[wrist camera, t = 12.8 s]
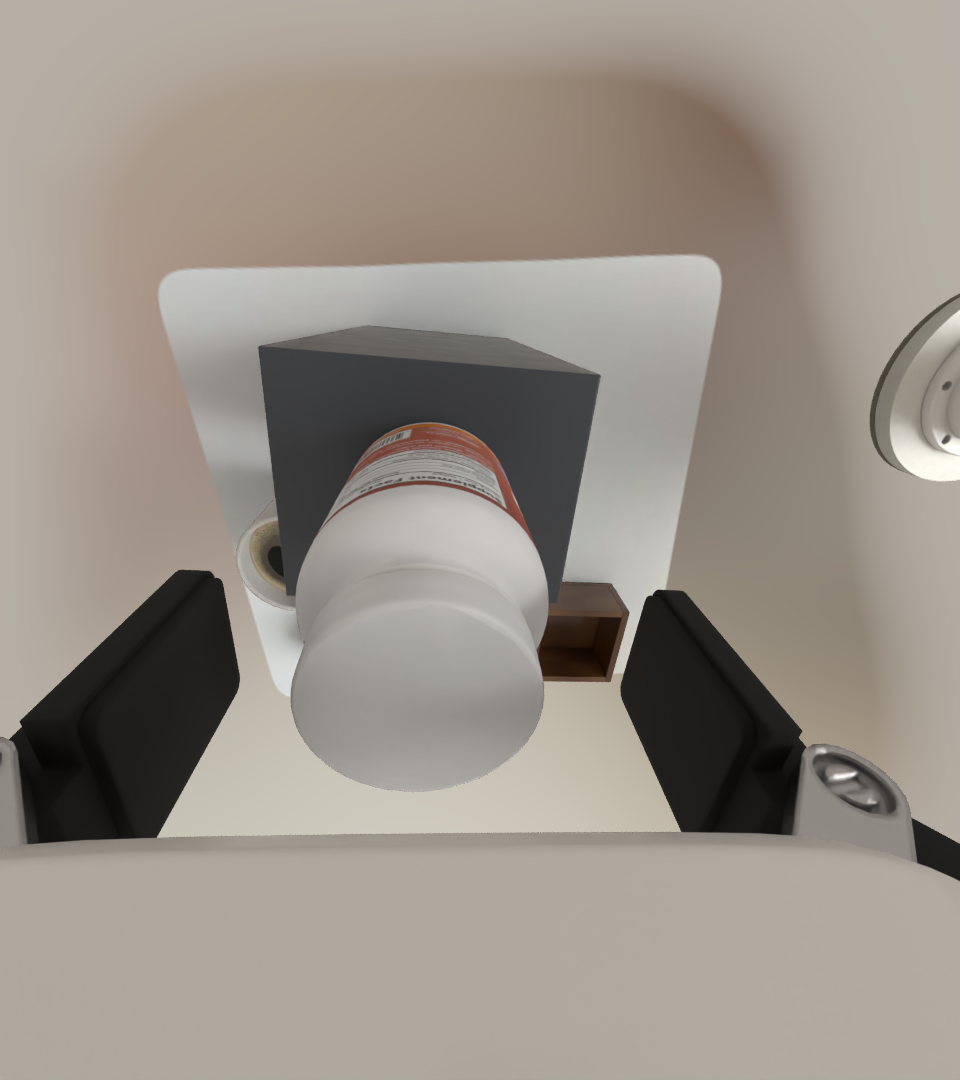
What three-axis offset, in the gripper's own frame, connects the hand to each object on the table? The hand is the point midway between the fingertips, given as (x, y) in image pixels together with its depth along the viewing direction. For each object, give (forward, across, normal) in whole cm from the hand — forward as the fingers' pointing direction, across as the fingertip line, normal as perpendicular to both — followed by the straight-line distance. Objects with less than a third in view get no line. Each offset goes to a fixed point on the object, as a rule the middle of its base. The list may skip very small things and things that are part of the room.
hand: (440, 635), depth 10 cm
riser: (+35, +1, 0) cm, 35 cm away
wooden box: (+35, -15, +24) cm, 45 cm away
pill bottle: (+9, 0, 0) cm, 9 cm away
